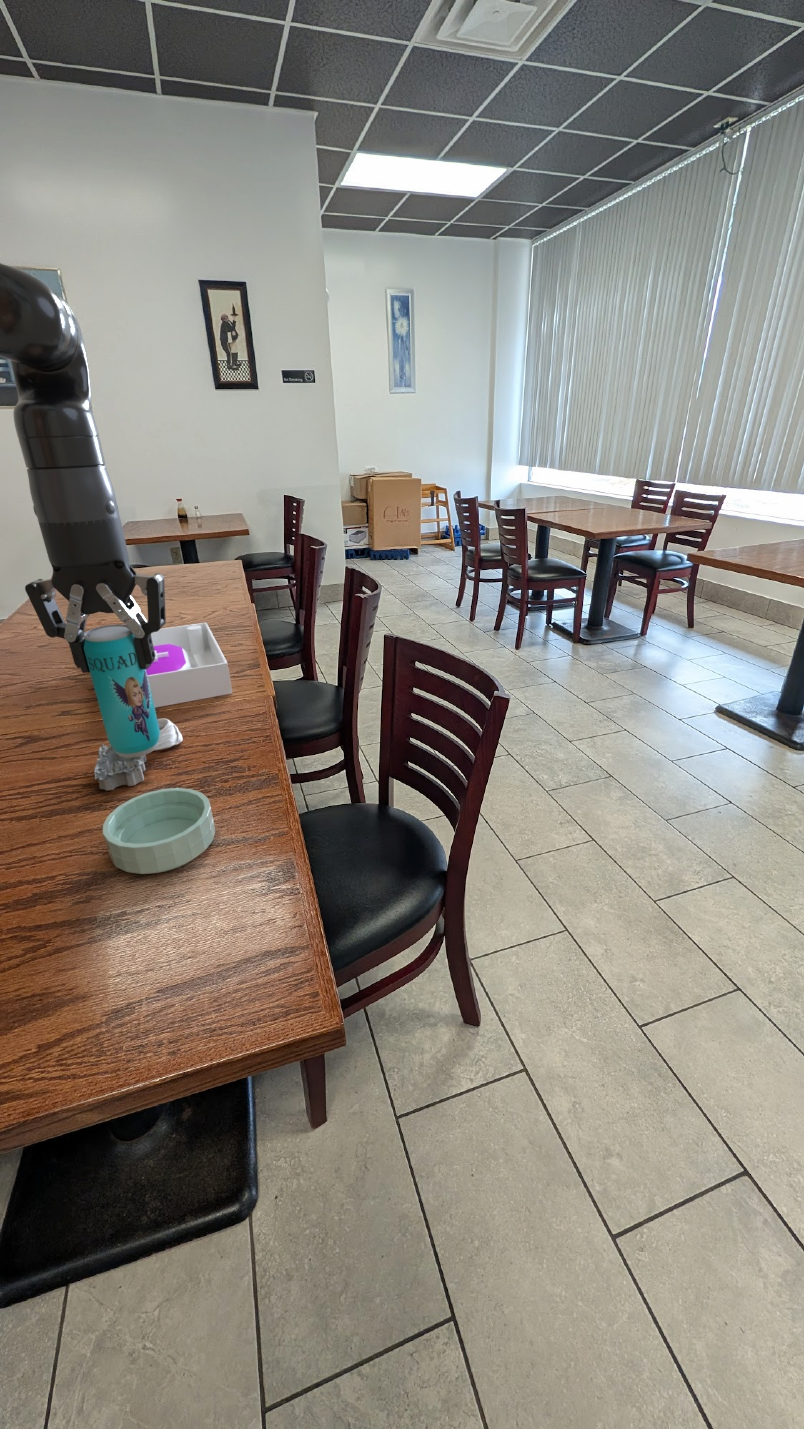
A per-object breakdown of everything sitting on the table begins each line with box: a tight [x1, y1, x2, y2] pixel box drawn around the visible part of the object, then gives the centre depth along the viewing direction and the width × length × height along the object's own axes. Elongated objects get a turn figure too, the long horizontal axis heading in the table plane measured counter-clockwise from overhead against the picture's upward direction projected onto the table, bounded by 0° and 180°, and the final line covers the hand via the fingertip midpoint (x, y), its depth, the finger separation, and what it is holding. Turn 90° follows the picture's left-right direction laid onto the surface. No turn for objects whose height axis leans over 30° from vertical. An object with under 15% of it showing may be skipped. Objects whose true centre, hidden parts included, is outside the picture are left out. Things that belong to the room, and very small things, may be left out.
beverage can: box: [83, 623, 160, 758], centre depth 68 cm, size 6×6×15 cm
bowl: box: [102, 787, 216, 875], centre depth 80 cm, size 14×14×5 cm
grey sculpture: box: [94, 742, 147, 791], centre depth 98 cm, size 11×8×4 cm
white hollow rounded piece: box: [152, 718, 184, 752], centre depth 108 cm, size 8×7×5 cm
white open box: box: [146, 622, 234, 709], centre depth 138 cm, size 22×35×7 cm, turn 24°
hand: (117, 668), depth 67 cm, fingers closed on beverage can, 5 cm apart
